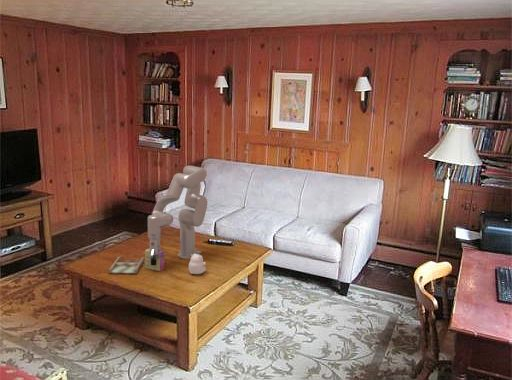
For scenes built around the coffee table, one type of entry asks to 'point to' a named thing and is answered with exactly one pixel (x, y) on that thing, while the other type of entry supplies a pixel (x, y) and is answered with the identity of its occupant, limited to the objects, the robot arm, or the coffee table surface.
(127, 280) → the coffee table surface
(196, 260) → the figurine
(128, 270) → the rack
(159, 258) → the box
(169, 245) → the coffee table surface
